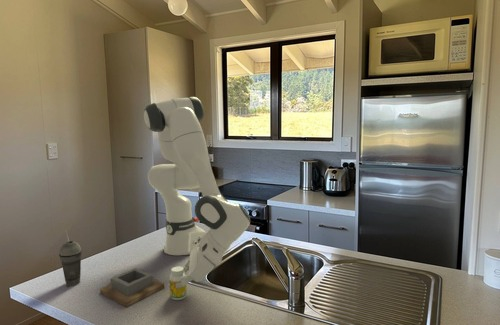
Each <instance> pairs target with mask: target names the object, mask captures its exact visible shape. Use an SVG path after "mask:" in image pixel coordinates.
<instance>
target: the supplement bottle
mask: <svg viewBox="0 0 500 325" xmlns="http://www.w3.org/2000/svg"><path fill="white" fill-rule="evenodd" d="M170 270H171V272H170V273H171V274H170V276H169V292H170V293H169V294H170V296H169V297H170V299H172V300H174V301H180V300H184V299H185V298H186V297H187V295H188V293H187V292H188V290H187V284H186V285H185V286H184V285H183V284H181V280H182V279H183V278H184V277H186V276H187V274H185V272H184V268H183V266H174V267H172V268H171V269H170Z"/></svg>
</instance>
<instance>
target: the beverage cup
mask: <svg viewBox="0 0 500 325" xmlns="http://www.w3.org/2000/svg"><path fill="white" fill-rule="evenodd" d="M64 232H65V238H66V242H65V243H63V244H62V245H61V247H60V249H59V251H58V253H59V254H58V257H59V258H60V261H61V266H62V272H63V277H64V281H65V286H66V287H75V286H78V285H79V284H80V283H81V274H82V273H81V272H82V268H81V265H82V264H81V262H82V252H83V250H82V247H81V245H80V244H79V243H78V242H76V241H73V240H71V241H70V238H69V235H68V230H67V229H65V230H64Z"/></svg>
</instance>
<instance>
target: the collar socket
mask: <svg viewBox="0 0 500 325" xmlns="http://www.w3.org/2000/svg"><path fill="white" fill-rule="evenodd" d="M162 289H165V283H163V282H161V281H159V280H156V279H154V276H153V274H151V273H149V272H147V271H144V270H141V269H139V268H137V267H134V268H132V269H129V270H127V271H125V272H122V273H120V274H117V275H114V276H113V277H110V284H107V285H105V286H103V287H101V288H100V289H99V293H100V294H102V295H103V296H105V297H107V298H109V299H111V300H112V301H115V302H116V303H118V304H120V305H122V306H124V307H125V308H127V307H130V306H131V305H133V304H135V303H137V302H139V301H141V300H143V299H145V298H147V297H150V295H153V294H155V293H156V292H158V291H161V290H162Z"/></svg>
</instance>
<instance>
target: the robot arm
mask: <svg viewBox="0 0 500 325" xmlns="http://www.w3.org/2000/svg"><path fill="white" fill-rule="evenodd" d="M204 117H205V116H204V106H203V104H202V101H201V100H200V99H199V98H198V97H196V96H187V97H177V98H171V99H168V100H162V101H159V102H156V103H155V102H152V103H150V104H149V105H146V107H145V108H144V113H143V119H144V122H145V125H146V126H147V127H148V130H150V131H152V132H156V133H157V136H158V142H159V143H158V144H159V148H160V149H159V150H160V154H161V156H162V157H163V158H164V159H165V160H166V161H170V162H172V163H162V164H161V163H160V164H156V165H152V166H151V167H150V169H149V170H148V172H147V180H148V184H149V185H150V186H151V187H152V188H153V189H154V190H156V191H157V192H158V193H159V195H160V196H161V198H162V200H163V201H164V206H165V213H166V219H165V229H166V237H165V238H166V239H165V245H164V249H163V252H164V253H165V254H166V255H169V256H185V255H187V256H188V255H189V258H188V259H187V261H186V262H185V264H184V265H183V266H182V267H183V268H184V273H187V272H188V273H187V274H186V277H184V278H183V279H182V280H181V284H183V285H184V286H185V285H186V286H187V285H188V284H189V283H191V282H192V281H194V282H196V283H200V282H201V281H202V280H203V279H204V278H205V277H206V276H207V275H208V274H210V273H211V271H212V270H213V269H214V268H215V266H216V267H217V266H219V265H220V264H221V263H222V260H223V256H225V253H226V252H227V251H228V250H229V249H230V247H231V245H233V243H234V242H236V241H237V240H239V238H240V237H241V236H242V235H243V234H244V233H245V231H247V229H248V227H249V226H250V224H251V217H250V214H249V213H248V212H247V210H246V209H245V208H244V206H243V205H241V204H240V203H234V202H231V201H228V200H227V199H226V198H225V196H224V195H223V194H222V193H221V190H220V189H219V185H218V183H217V180H216V178H215V177H216V176H215V175H214V171H213V169H212V166H211V165H212V164H211V161H210V160H211V159H210V154H209V151H208V150H209V149H208V144H207V140H206V137H205V134H204V131H203V128H202V126H201V122H202V120H203V118H204ZM198 188H199V189H200V192H201V195H202V197H200V198H199V199H198V200H197V201H196V204H195V206H194V214H195V217H193V212H192V202H191V200H190V199H189V198H188V197H187V196H184V195H182V194H181V193H180V192H179V191H178V190H182V189H183V190H185V189H186V190H188V189H189V190H193V189H198ZM199 222H201V223H202V224H204V225H205V226H207V227H208V228H209V230H208V231H207V232H206V231H205V229H203V228H201V227H199V226H197V225H196V224H195V223H199Z"/></svg>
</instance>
